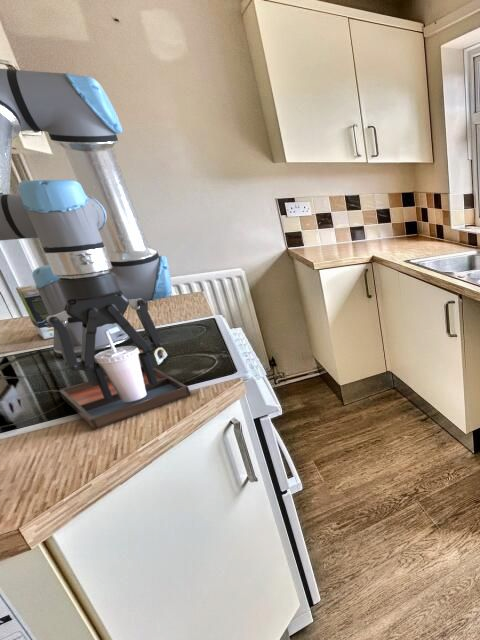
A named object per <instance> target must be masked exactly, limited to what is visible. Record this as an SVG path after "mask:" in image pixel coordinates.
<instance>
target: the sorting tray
mask: <svg viewBox="0 0 480 640" xmlns="http://www.w3.org/2000/svg"><path fill="white" fill-rule="evenodd" d="M141 370H142V375H143V379H144V384H145V389H146V393H147V395H146V396H145V397H143V398H141V399H138V400H135V401H131V402H123V401H122V399H121V398H120V396H119V395H118V393H117V392H116V390H115V388H114V387H113V385H112V384H111V382H110V381H109V379H108V377H107V376H106V375H104V378H105V380H106V382H107V385H108V387H109V390H110V392H111V394H112V397H113V399H114V400H111V401H108V400H106V399H105V398H104V396H103V394H102V392H101V389H100V387H99V385H97V386H93V385H91V384H90V383H89V381H88V380H87V381H84V382H81V383H78V384H74V385H72V386H68V387H65V388H60V389H58V392H59V394H60V396H61V398H62V399H63V400H64V402H66V403H67V405H69V406H70V408H72V410H74V411H75V412H76V413H77V414H78V415H79V416H80V417H81V418H82V419H83V420H84V421H85V422H86V423H87V424H88V425H89V426H90V427H91V428H92V429H93V430H98V429H101V428H103V427H104V428H105V427H106V426H109V425H112V424H116V423H117V422H120V421H123V420H126V419H128V418H131V417H134V416H137V415H140V414H143V413H146V412H148V411H151V410H154V409H157V408H159V407H162V406H165V405H168V404H170V403H173V402H175V401H179V400H182V399H185V398H188V397H190V396H191V392H190V388H189V386H188V385H186V384H184V383H182V382H180V381H179V380H177V379H175V378H173V377H172V376H170V375H168V374H167V373H165V372H163V371H161V370H159V369H158V368H153V371H154V374H155V376H156V379H157V382H158V384H159V385H157V386H153V385H151V384H150V383H149V381H148V379H147V376H146V374H145V371H144V368H143V366H141Z"/></svg>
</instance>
